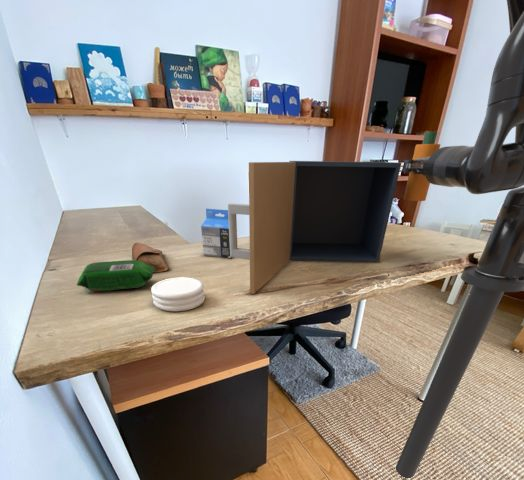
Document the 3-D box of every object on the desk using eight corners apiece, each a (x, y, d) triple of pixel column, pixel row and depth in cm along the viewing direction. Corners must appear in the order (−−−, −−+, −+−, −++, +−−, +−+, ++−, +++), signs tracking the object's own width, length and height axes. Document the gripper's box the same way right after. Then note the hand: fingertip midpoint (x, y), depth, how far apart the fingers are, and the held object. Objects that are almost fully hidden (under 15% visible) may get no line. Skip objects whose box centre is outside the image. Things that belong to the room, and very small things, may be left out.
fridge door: (227, 289, 64) (220, 161, 51) (268, 258, 85) (270, 161, 72) (254, 293, 63) (253, 162, 50) (289, 261, 83) (295, 161, 70)
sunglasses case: (170, 269, 75) (152, 247, 70) (148, 285, 75) (129, 264, 70) (162, 251, 88) (146, 232, 84) (143, 265, 88) (127, 247, 84)
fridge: (378, 262, 84) (401, 162, 70) (287, 260, 84) (293, 161, 71) (362, 246, 99) (378, 162, 85) (284, 245, 99) (289, 160, 86)
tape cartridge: (203, 255, 87) (198, 210, 80) (209, 252, 90) (205, 208, 83) (230, 258, 85) (228, 212, 78) (235, 255, 88) (234, 210, 81)
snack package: (157, 289, 64) (152, 266, 62) (78, 295, 61) (70, 270, 58) (158, 279, 70) (154, 257, 67) (87, 283, 67) (80, 260, 64)
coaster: (176, 317, 53) (173, 299, 51) (143, 303, 58) (139, 286, 56) (215, 300, 60) (213, 283, 58) (183, 288, 65) (180, 273, 63)
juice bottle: (429, 200, 80) (448, 131, 72) (417, 201, 77) (435, 130, 69) (410, 198, 84) (426, 133, 76) (398, 199, 81) (414, 132, 73)
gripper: (491, 145, 62) (450, 148, 76) (423, 145, 62) (394, 148, 76) (477, 186, 66) (440, 181, 80) (413, 186, 66) (388, 181, 81)
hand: (418, 165), depth 78 cm, fingers closed on juice bottle, 5 cm apart
